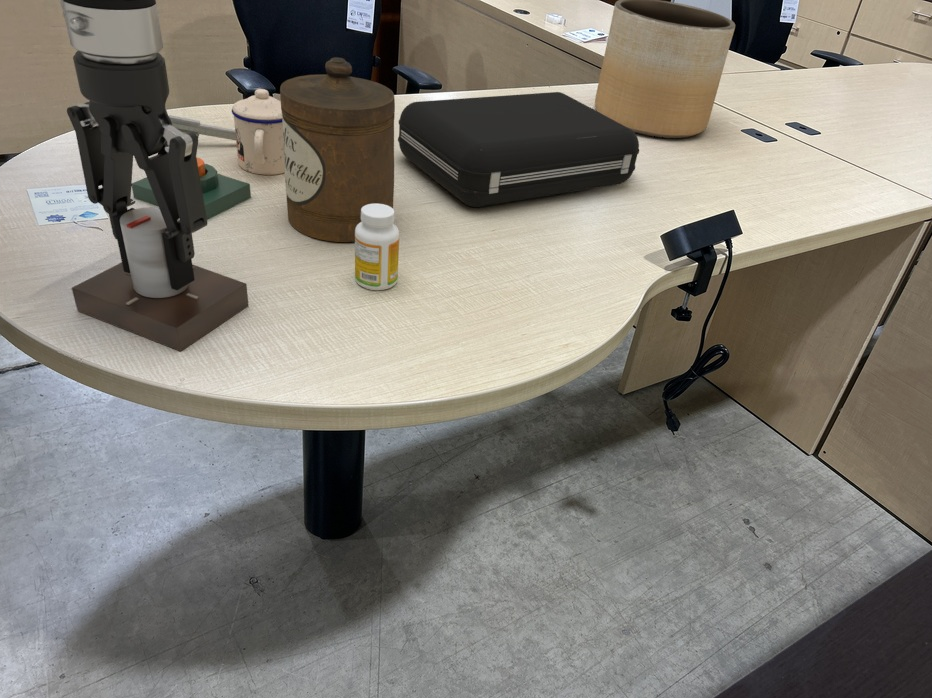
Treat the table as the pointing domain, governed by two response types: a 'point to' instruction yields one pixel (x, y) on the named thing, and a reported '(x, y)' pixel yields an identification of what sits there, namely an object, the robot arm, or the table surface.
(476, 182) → the briefcase
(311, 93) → the wooden container
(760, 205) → the table surface
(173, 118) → the caliper
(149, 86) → the robot arm
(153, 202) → the button block
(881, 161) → the table surface
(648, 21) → the planter
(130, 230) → the dial
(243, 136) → the teacup with lid
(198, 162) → the button
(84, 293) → the brown rectangular base
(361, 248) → the supplement bottle
